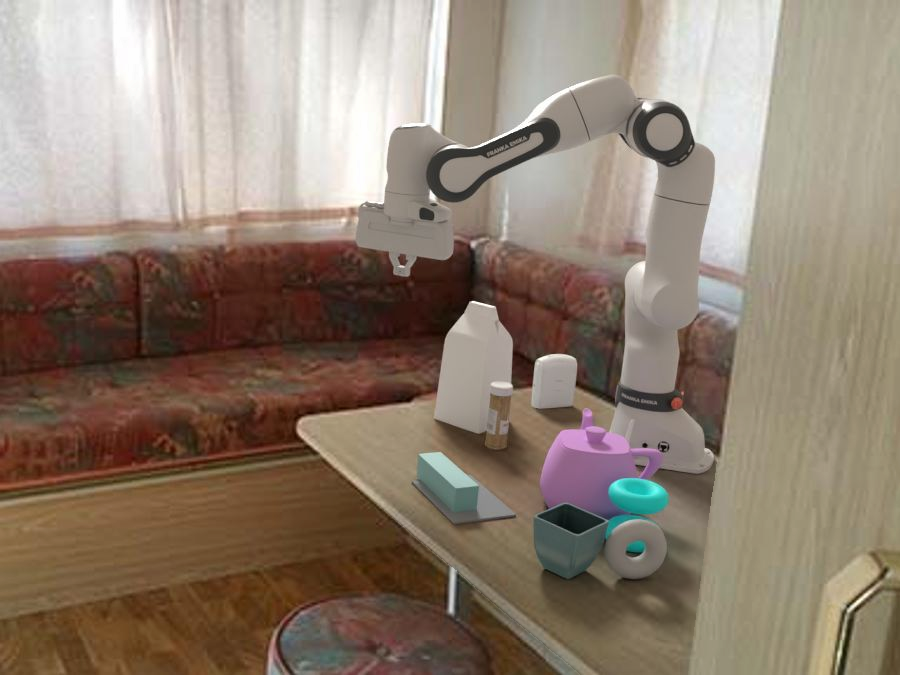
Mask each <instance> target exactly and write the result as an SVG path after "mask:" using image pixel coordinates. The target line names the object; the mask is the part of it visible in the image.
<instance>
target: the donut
mask: <svg viewBox="0 0 900 675" xmlns="http://www.w3.org/2000/svg"><path fill="white" fill-rule="evenodd" d="M655 524H656V523H655ZM655 524H653V523H651V522H649V521H646V520H641V519H636V520H629V521H626V522H624V523H622V524H620V525H618V526H617V527H616V528H615V529H614V530H613V531H612V532H611V533H610V535H609V536H608V538H607V540H605V541H606V542H605V543H604V547H603V548H604V549H603V550H604V559H605V561H606V564H607V567H609V568H610V570H611V571H612V572H614V574H615V575H618V576H619V577H621V578H623V579H629V580H638V579H644V578H646V577H648V576H650V575H652V574H653V573H655V572H656V571H657V570H659V568H660V567H661V566H662V564H663V563H664V561H665V558H666V555H667V552H668V547H667V546H668V544H667V540H666V536H665V534H664V532H663V530H660V529H661V528H660V526H659V525H657V524H656V525H655ZM659 528H660V529H659ZM635 541H642V542H644V543H645V550H644V552H641V554H639V555H638V556H634V557H631V556H628V554H627V551H626V549H627V547H628V546H629V545H630V544H631V543H633V542H635Z"/></svg>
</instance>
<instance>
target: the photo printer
mask: <svg viewBox="0 0 900 675" xmlns="http://www.w3.org/2000/svg"><path fill="white" fill-rule="evenodd" d="M577 374H578V362H577V358H575V357H574V356H572V355H568V354H563V353H555V354H554V353H553V354H552V353H551V354H547V355H544V356H542V357H541V356H540V357H539V358H537V359H536V360H535V363H534V370H533V377H532V378H533V379H532V390H531V398H530V399H531V400H530V401H531V402H530V403H531V407H532V408H534V409H536V408H538V409H537V410H539V409H540V410H541V409H542V410H543V409H554V408H565V407H566V408H567V407H569V408H570V407H572V406H574V402H575V392H576V391H575V390H576V384H577V382H576V381H577Z"/></svg>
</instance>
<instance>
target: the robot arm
mask: <svg viewBox="0 0 900 675" xmlns="http://www.w3.org/2000/svg"><path fill="white" fill-rule="evenodd" d="M611 134H618V135H619V136H620V138H621V139H622V141H623V142H624V143H625V144H626V146H628V147H629V148H630V149H631V150H633V151H634V152H635V153H636V154H638V155H640V156H642V157H644V158H647V159H650V160H652V161H654V162H655V163H656V167H657V181H656V183H655V187H654V188H655V189H654V191H653V196H652V200H651V205H650V209H649V213H648V214H649V215H648V218H647V224H646V228H645V260H642V261H639V262H637V263H635V264H634V265H633V266H632V267H630V268H629V270H628V271H627V273H626V275H625V278H624V290H625V291H624V292H625V296H624V297H625V298H624V299H625V300H624V302H625V303H624V304H625V305H624V333H625V334H624V335H625V337H624V350H623V351H624V352H623V359H622V367H621V374H620V380H619V381H618V382H617V386H616V389H615V390H616V391H615V400H614V402H615V404H614V406H615V410H614V415H613V419H612V422H611V426H610V429H609V431H608V433H614V434H618V435H621V436H623V437H624V438H625V439H626V440H627V441H628V443H629V446H630V449H637V448H649V449H656V450H658V451H660V452H661V453H662V455H663V461H662V463H661V465H660V467H659V469H662V470H663V469H664V470H669V471H676V472H682V473H689V474H702V473H705V472H707V471H709V470H710V469H711V468H712V466H713V465H714V462H715V456H714V453H713V451H711V450H710V449H709V448H706V445H705V434H704V430H703V427H702V426H700V424H699V423H698V422H696V420H694V418H693V417H692V416H690V414H689V413H687V411H685V410H684V409H683V402H684V394H685V393H684V391H681V392H680V391H679V390H678V389H677V388H676V387H675V386H676V380H677V374H678V366H679V361H680V360H679V359H680V346H679V345H680V344H679V339H678V337H679V336H678V334H679V333H678V330H681V329H684V328H686V327H688V326H689V325H690V324H691V323H693V321H694V320H695V319H696V317H697V316H698V312H699V308H700V301H699V295H698V294H699V292H698V291H699V290H698V289H699V278H700V260H701V250H702V249H701V248H702V242H703V237H704V231H705V227H706V224H707V218H708V214H709V211H710V204H711V201H712V196H713V191H714V184H715V174H716V172H715V171H716V159H715V155H714V153H713V151H712V150H711V149H710V148H708V146H706V145H704V144H702V143H699V142H696V141H695V138H694V135H693V131H692V129H691V124H690V122H689V119H688V116H687V115H686V114H685V112H684V110H683V109H682V108H680V107H679V106H678V105H676V104H674V103H672V102H669V101H667V100H663V99H661V98H654V99H653V98H652V99H651V98H642V97H637V96H636V95H635V93H634V90H633V88H632V86H631V85H630V83H629V82H628V81H627V80H626V79H625V78H624V77H622V76H620V75H617V74H608V75H605V76H599V77H596V78H593V79H589V80H585V81H583V82H579V83H577V84H575V85H571V86H570V87H567V88H565V89H562V90H561V91H558V92H557V93H554V94H553V95H552V96H549V97H548V98H546V99H545V100H544V101H542V102H540V103H539V104H537V106H536V107H534V109H533V111H532V112H531V113H530V114H529V116H528V117H527V118H526V119H525V120H524V121H523V122H522V123H521V124H520V125H518V126H516V127H515V128H514V129H511V130H510V131H508V132H505V133H503V134H501V135H498V136H496V137H493V138H492V139H490V140H488V141H486V142H483V143H481V144H479V145H476V146H472V147H468V146H467V145H464V144H462V143H459V142H457V141H454V140H453V139H450V138H448V137H446V136H445V135H443V134H442V133H441V132H439V131H437V130H436V129H435V128H434V127H432V125H431V124H429V123H425V122H415V123H414V122H413V123H407V124H401V125H399V126H397V127H396V128H394V129H393V131H392V132H391V134H390V136H389V140H388V141H389V142H388V147H387V154H386V155H387V156H386V166H385V167H386V168H385V169H386V173H387V181H386V184H385V187H384V197H383V198H384V200H383V202H374V201H370V200H368V201H367V200H366V201H364V202H363V203H361V204H360V205H359V207H358V212H357V217H358V221H357V225H356V229H355V230H356V231H355V239H354V240H355V244H356V245H357V247H359V248H365V249H370V250H371V249H372V250H377V251H383V252H389V253H388V258H389V260H390V263H391V265H392V267H393V270H392V272H393V275H395V276H400V277H409V276H411V268H412V266H413V265H414V263H415V262H416V260H417V258H418V257H420V258H426V259H433V260H440V261H446V260H448V259H450V258H451V256H452V255H453V253H454V243H455V238H454V235H455V234H454V228H453V224H452V223H451V222H450V220H451V219H452V215H453V211H452V209H451V208H449V207H448V206H446V205H443V204H442V203H439V202H438V201H436V200H434V199H432V198H430V195H431V193H432V194H433V195H434V196H435V197H436V198H437V199H439V200H442V201H444V202H445V203H446V202H447V203H452V204H454V203H461V202H464V201H466V200H468V199H469V198H471V197H472V196H473V195H474V194H475V193H477V191H478V190H479V189H480V188H481V186H482V185H484V184H485V182H487V181H489V179H491V178H493V177H494V176H497V175H499V174H501V173H503V172H506V171H508V170H510V169H512V168H515V167H516V166H518V165H521V164H523V163H526V162H527V161H530V160H532V159H535V158H538V157H539V158H540V157H543V156H547V155H551V154H556V153H560V152H564V151H567V150H571V149H574V148H577V147H580V146H582V145H586V144H587V143H590V142H592V141H595V140H596V139H599V138H601V137H604V136H606V135H611ZM402 254H403V255H405V260H406V261H407V262H406V264H405V265H401V263H400V261H399V258H398V257H401V255H402ZM633 459H634V462H635V466H637V465H638V466H642V467H643V466H644V467H646V466H647V464H648V462H649V458H648V457H644V456H634V457H633Z"/></svg>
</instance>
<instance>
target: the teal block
mask: <svg viewBox="0 0 900 675" xmlns="http://www.w3.org/2000/svg"><path fill="white" fill-rule="evenodd" d="M467 475H468V474H466V473H465V472H464V471H463V469H461V468H459V467H458V466H457V465H456V464H455V463H454V462H453V461H452V460H450V459H449V458H448V457H447V456H446V455H445V454H443V453H442V452H441V451H435V452H426V453H418V455H417V466H416V478H418V480H421V481H422V482H423V483H424V484H425V485H426V486H427V487H428V488H429V489H430V490H431V491H432V492H433V493H434V494H435V495H436V496H437V497H438V498H439V499H440V500H441V501H442V502H443V503H444V504H445V505H446V506H447V507H448V508H450V509H451V510H452V511H453V512H461V511H469V510H477V501H478V491H479V485H478V484H476V483H475V482H474V481H473V480H472V479H471V478H470V477H468V476H467Z"/></svg>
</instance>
